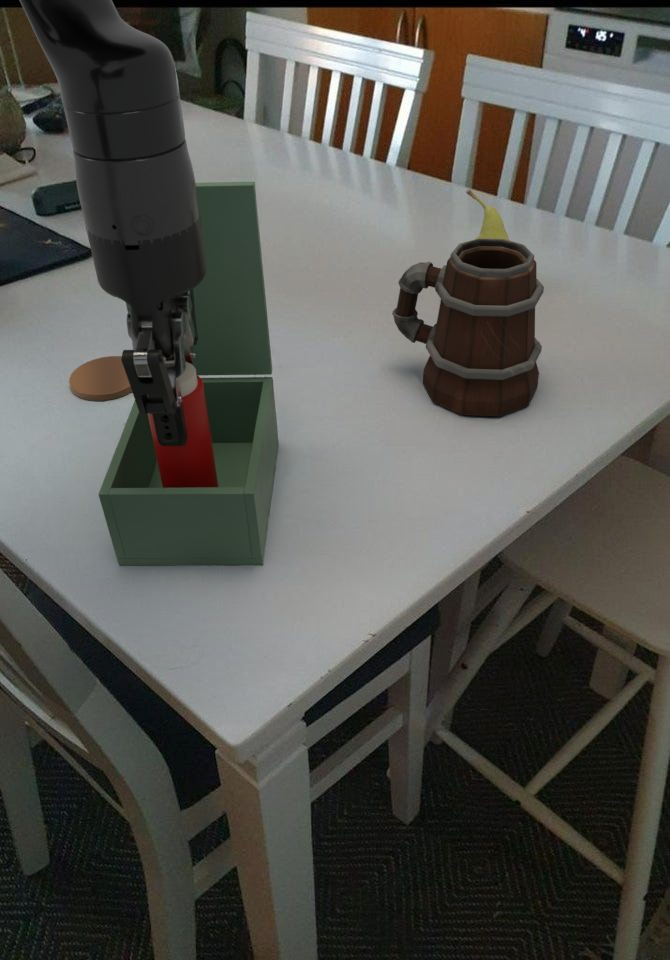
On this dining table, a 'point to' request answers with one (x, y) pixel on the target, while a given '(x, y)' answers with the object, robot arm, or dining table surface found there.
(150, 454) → the chest
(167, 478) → the sauce bottle
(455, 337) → the mug
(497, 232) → the fruit
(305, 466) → the dining table surface
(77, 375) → the disc
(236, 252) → the chest lid
